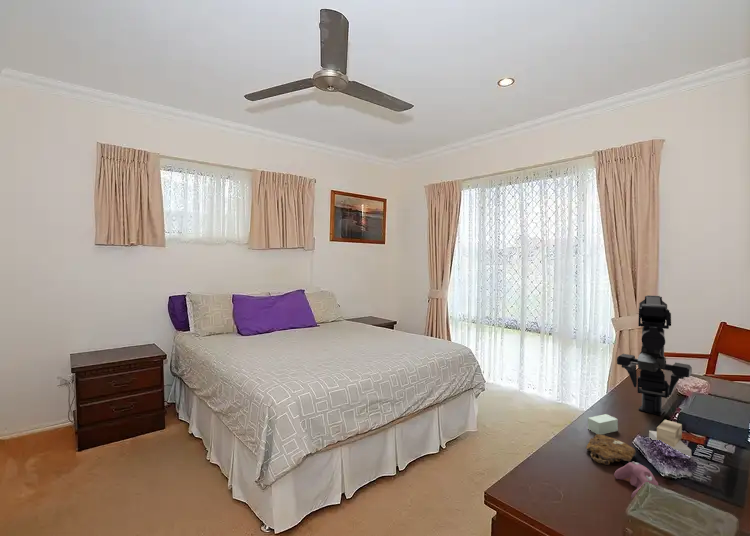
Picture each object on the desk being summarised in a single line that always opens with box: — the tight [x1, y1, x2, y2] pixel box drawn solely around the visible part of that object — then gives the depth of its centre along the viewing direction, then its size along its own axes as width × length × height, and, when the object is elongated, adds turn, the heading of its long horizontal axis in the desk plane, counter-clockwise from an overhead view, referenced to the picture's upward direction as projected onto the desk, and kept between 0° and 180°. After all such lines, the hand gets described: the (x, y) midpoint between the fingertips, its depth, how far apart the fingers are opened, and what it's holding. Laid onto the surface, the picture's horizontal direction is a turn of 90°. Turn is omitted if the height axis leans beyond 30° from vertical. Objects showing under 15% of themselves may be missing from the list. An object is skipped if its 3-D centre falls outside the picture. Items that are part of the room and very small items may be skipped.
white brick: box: [648, 430, 692, 458], centre depth 105 cm, size 10×6×3 cm, turn 164°
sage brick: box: [587, 413, 619, 435], centre depth 116 cm, size 8×4×4 cm, turn 109°
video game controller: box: [613, 460, 659, 499], centre depth 86 cm, size 10×5×7 cm, turn 170°
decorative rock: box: [585, 433, 637, 466], centre depth 101 cm, size 11×4×15 cm
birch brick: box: [656, 419, 683, 447], centre depth 105 cm, size 8×4×4 cm, turn 128°
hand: (652, 390), depth 117 cm, fingers open, 9 cm apart
